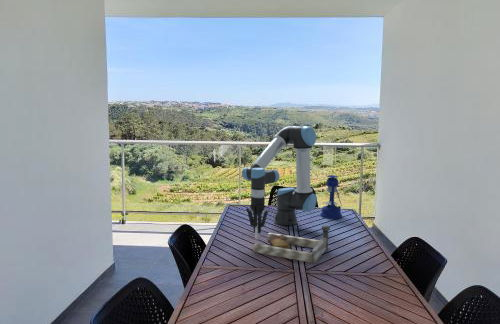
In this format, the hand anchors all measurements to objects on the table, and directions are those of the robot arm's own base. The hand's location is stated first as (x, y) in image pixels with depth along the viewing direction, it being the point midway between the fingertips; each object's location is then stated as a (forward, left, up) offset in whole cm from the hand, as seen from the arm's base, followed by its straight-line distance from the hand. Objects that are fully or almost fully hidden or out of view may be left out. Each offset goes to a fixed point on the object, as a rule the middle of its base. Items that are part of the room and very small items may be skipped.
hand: (257, 238), depth 200 cm
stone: (+13, 0, -4) cm, 13 cm away
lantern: (+24, +78, -4) cm, 82 cm away
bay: (+20, +2, -3) cm, 20 cm away
